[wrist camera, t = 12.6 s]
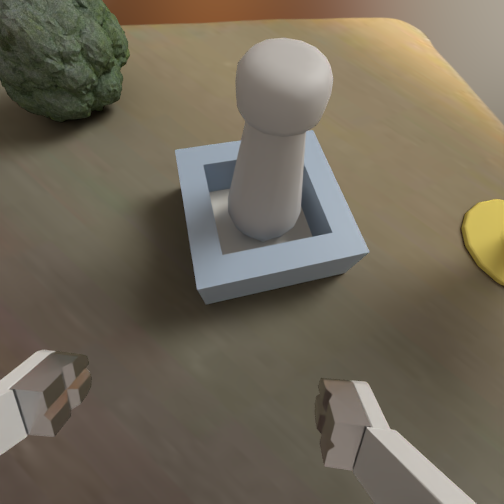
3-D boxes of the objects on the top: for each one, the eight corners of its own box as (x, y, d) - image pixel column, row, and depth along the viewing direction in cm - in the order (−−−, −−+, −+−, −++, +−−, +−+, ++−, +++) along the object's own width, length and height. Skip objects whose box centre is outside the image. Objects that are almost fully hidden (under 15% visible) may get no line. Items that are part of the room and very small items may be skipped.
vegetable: (138, 27, 31) (144, 15, 20) (110, 126, 36) (103, 159, 25) (8, -64, 24) (-89, -157, 13) (-5, 74, 29) (-84, 88, 18)
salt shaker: (215, 225, 22) (184, 58, 10) (254, 183, 24) (269, 3, 12) (270, 263, 20) (311, 127, 8) (306, 216, 22) (382, 52, 10)
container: (206, 304, 20) (197, 289, 16) (186, 185, 24) (175, 149, 20) (344, 273, 21) (369, 252, 17) (301, 166, 26) (312, 130, 22)
